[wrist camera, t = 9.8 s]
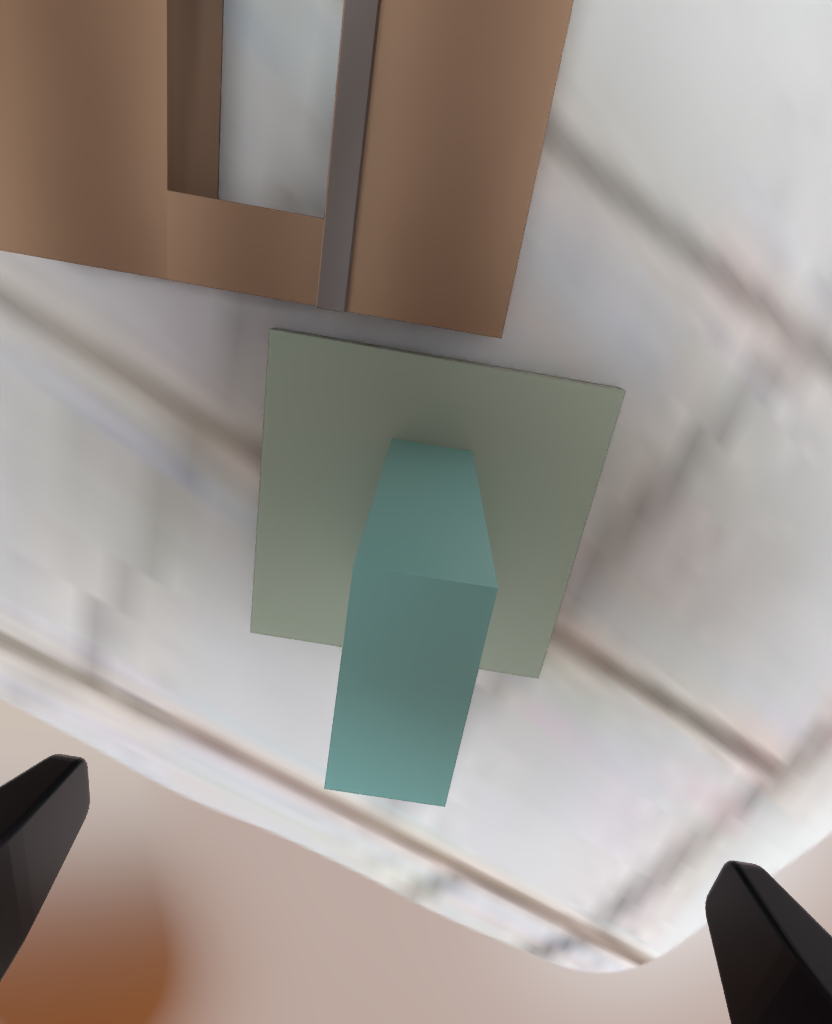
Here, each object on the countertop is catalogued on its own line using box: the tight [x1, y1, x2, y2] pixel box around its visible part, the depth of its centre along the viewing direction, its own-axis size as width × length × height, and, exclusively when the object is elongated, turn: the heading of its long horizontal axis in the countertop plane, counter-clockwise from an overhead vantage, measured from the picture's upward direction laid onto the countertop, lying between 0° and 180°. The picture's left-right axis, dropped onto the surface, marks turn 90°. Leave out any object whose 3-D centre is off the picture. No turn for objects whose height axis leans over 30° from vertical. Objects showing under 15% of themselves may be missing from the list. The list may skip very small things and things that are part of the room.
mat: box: [250, 328, 626, 678], centre depth 18 cm, size 10×10×1 cm
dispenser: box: [0, 0, 574, 338], centre depth 12 cm, size 12×10×3 cm
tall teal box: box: [324, 438, 498, 807], centre depth 14 cm, size 2×5×8 cm, turn 171°
